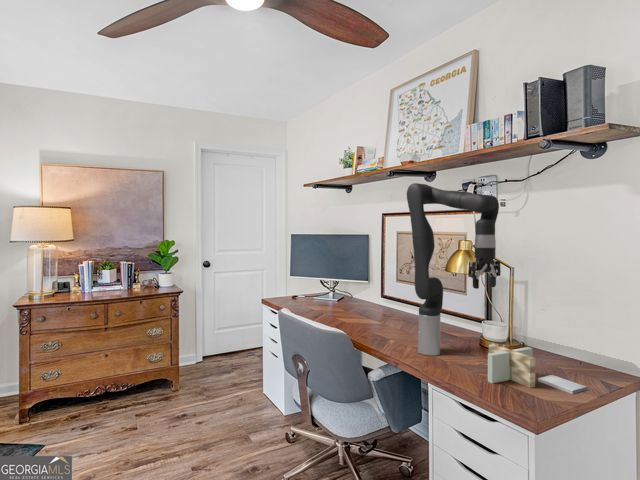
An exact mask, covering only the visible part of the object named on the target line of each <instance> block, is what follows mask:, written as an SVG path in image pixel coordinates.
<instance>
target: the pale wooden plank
mask: <svg viewBox="0 0 640 480" xmlns="http://www.w3.org/2000/svg"><path fill="white" fill-rule="evenodd" d="M501 351H507V352H509V366H512V379H511V381H512V382H515V383H517V384H520V385H523V386H525V387H527V388H532V389H533V388H534V387H535V388H536V357H534V356H533V357H531V356H528V355H525V354H522V353H519V352H516V351H513V349H509V348H507V347H504V346H500V345H497V344H496V343H493V344H489V345H488V354H490V353H496V352H501Z"/></svg>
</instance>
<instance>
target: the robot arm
mask: <svg viewBox="0 0 640 480" xmlns="http://www.w3.org/2000/svg"><path fill="white" fill-rule="evenodd" d="M406 200H407V206H408V211H409V215H410V224H411V225H410V226H411V234H412V235H411V236H412V237H411V238H412V246H413V247H412V248H413V257H414V291H415V293H416V296H417V297H418V299H420V300H425V301H424V302H423V304H422V305H420V306H419V307H418V331H417V353H418V354H421V355H425V356H433V357H434V356H439V355H441V311H442V309H443V301H444V300H443V299H444V285H443V283H442V281H441V279H440V278H438V277H433V276H431V277H430V273H429V272H430V270H429V269H430V267H429V266H430V262H431V259H432V257H433V254H434V251H435V235H434V234H435V233H434V231H433V228H432V226H431V225H430V222H429V220H428V219H427V217H426V214H425V207H424V205H434V204H435V205H443V206H446V207H449V208H454V209H459V210H464V211H467V210H468V211H470V212H474V213H480V218H479V219H478V220H477V221H476V222H475V236H474V256H473V257H474V258H475V261H469V262H468V272H467V276H468V278H471V279H472V287H473V289H476V290H478V289H480V288H479V287H480V277H481V275H483V274H484V273H487V274H488V275H489V287H490V288H495V287H496V286H497V278H498V277H500V276H501V272H502V271H501V261H500V260H497V259H496V260H495V258H496V249H497V248H496V245H497V244H496V241H497V240H496V222H497V219H498V215H499V211H500V210H499V209H500V204H499V200H498V198H497V197H496V196H495V195H491V194H482V193H481V194H480V193H479V194H478V193H471V192H468V191H459V190H446V189H445V190H444V189H440V188H437V187H435V186H434V187H433V186H431V185H428V184H425V183H417V182H415V183H411V184H410V185H409V186H408V188H407V190H406Z"/></svg>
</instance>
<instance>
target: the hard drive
mask: <svg viewBox="0 0 640 480" xmlns="http://www.w3.org/2000/svg"><path fill="white" fill-rule="evenodd" d="M537 381H538V382H540V383H542V384H545V385H547V386H550V387H553V388H555V389H558V390H561V391H563V392H566V393H568V394H571V395H574V394H578V393H580V392H581V393H582V392H584V391H588V390H589V387H588V386H586V385H583V384H580V383H576V382H574V381H571V380H568V379H565V378H562V377H560V376H556V375H553V374H550V375H546V376H541V377H538V378H537Z"/></svg>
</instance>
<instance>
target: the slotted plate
mask: <svg viewBox="0 0 640 480" xmlns="http://www.w3.org/2000/svg"><path fill="white" fill-rule="evenodd" d="M533 349H534V348H532V347H530V346H526V347H520V348H516V349H512V350H513V351H516V352H519V353H522V354H525V355H528V356H531V357H534V356H533V355H534V354H533ZM509 380H511V381H512V366H509V352H507V351H501V352H496V353H490V354H489V353H487V382H488V383H490V384H497V383H501V382H506V381H509Z"/></svg>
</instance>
